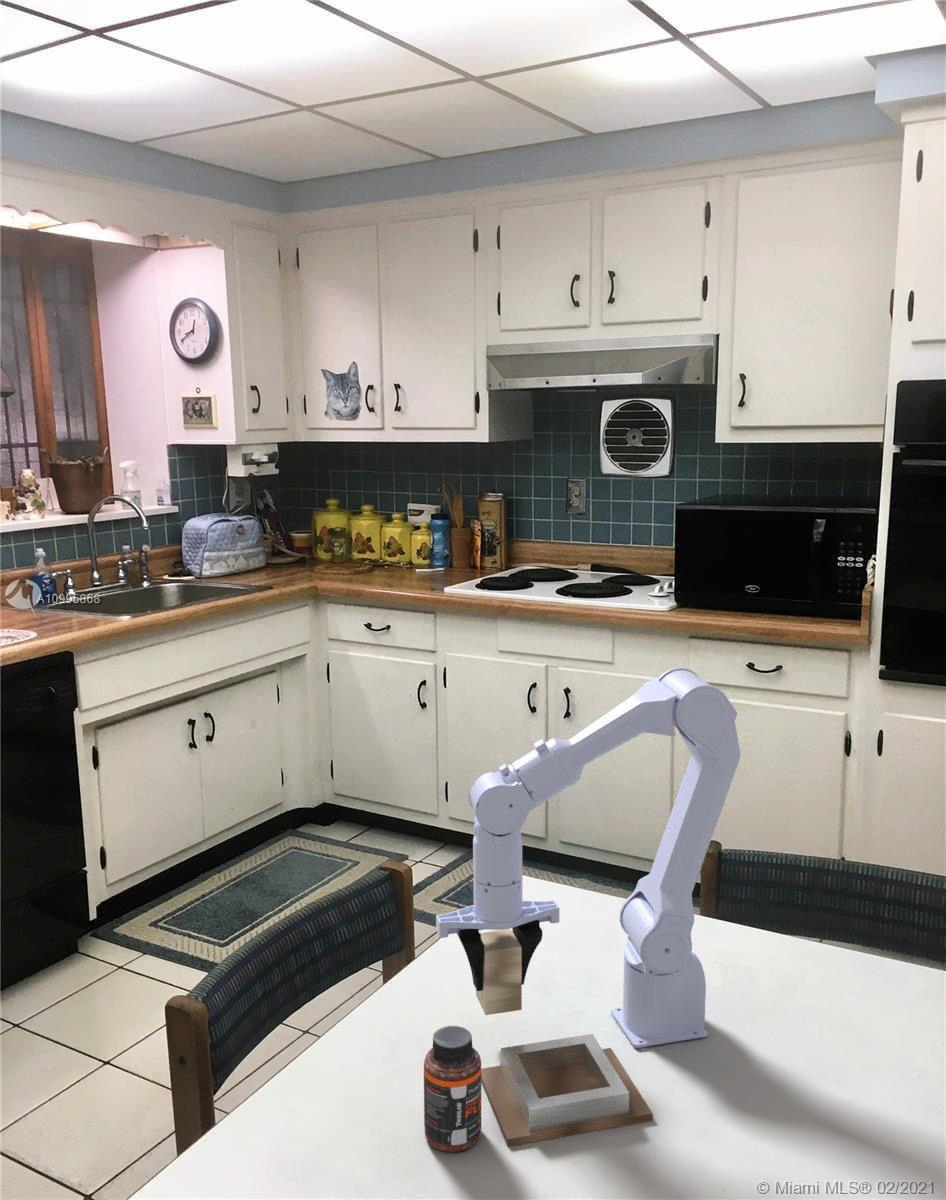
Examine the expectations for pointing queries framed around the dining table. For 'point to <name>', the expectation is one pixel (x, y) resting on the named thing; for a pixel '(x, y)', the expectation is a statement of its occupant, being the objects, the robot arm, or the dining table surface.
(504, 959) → the peg
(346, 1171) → the dining table surface
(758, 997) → the dining table surface
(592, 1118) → the collar board
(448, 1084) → the supplement bottle
